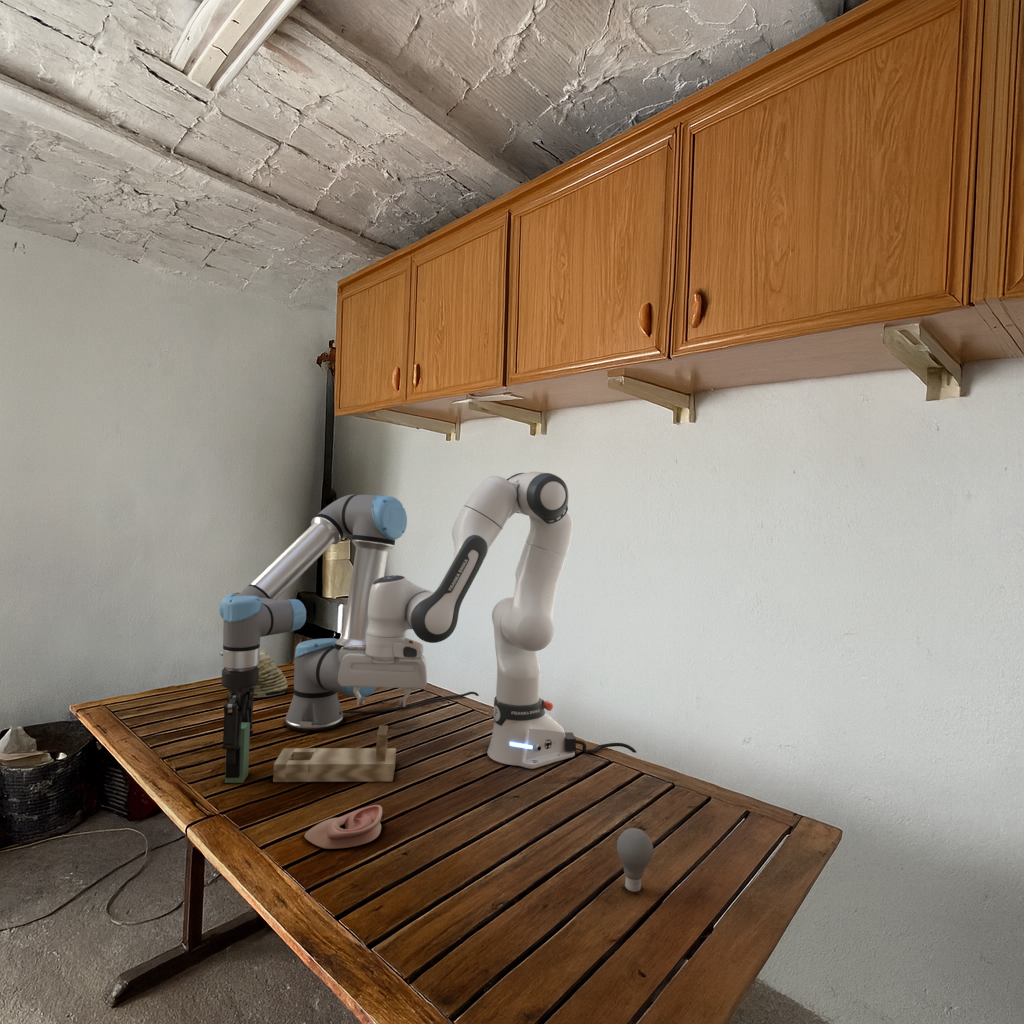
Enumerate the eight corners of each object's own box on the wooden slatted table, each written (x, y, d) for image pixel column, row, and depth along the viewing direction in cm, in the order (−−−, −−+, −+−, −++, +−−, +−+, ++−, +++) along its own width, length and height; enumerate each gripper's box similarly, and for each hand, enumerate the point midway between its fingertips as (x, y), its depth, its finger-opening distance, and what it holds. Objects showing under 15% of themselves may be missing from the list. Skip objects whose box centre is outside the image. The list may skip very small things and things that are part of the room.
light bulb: (610, 878, 109) (613, 821, 108) (645, 878, 109) (647, 821, 109) (619, 901, 103) (622, 840, 103) (655, 900, 103) (658, 839, 103)
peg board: (272, 782, 140) (274, 737, 139) (283, 764, 148) (284, 722, 148) (392, 781, 142) (394, 737, 142) (395, 764, 151) (397, 723, 151)
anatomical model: (296, 822, 115) (327, 794, 126) (295, 844, 115) (326, 814, 126) (364, 833, 112) (389, 803, 124) (363, 855, 112) (388, 823, 124)
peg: (230, 775, 142) (232, 722, 142) (248, 775, 142) (250, 722, 142) (224, 782, 138) (226, 728, 138) (242, 782, 139) (244, 728, 138)
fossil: (219, 695, 195) (221, 647, 195) (279, 686, 207) (281, 640, 207) (229, 703, 188) (231, 653, 188) (290, 693, 201) (292, 646, 200)
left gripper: (236, 656, 148) (232, 754, 149) (207, 678, 130) (203, 790, 131) (269, 656, 149) (265, 754, 150) (245, 678, 131) (241, 790, 132)
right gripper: (336, 647, 142) (333, 708, 142) (428, 650, 144) (425, 711, 144) (341, 641, 148) (337, 700, 148) (429, 644, 150) (425, 702, 150)
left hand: (236, 770), depth 140 cm, fingers open, 5 cm apart
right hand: (381, 705), depth 146 cm, fingers open, 8 cm apart
